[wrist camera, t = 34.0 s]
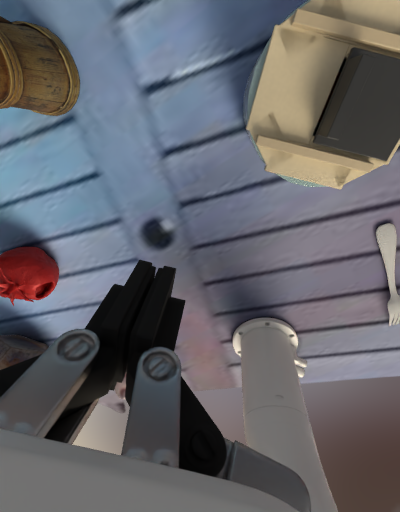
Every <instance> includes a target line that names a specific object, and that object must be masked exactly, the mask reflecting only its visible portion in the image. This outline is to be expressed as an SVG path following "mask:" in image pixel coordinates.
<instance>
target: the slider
mask: <svg viewBox="0 0 400 512" xmlns="http://www.w3.org/2000/svg"><path fill="white" fill-rule="evenodd" d="M399 139H400V59H398V58H394V57H390V56H387V55H383V54H379V53H375V52H371V51H367V50H363V49H360V48H356V47H353V48H351V50H350V53H349V55H348V57H347V60H346V62H345V65H344V67H343V70H342V72H341V74H340V77H339V79H338V82H337V84H336V86H335V89H334V91H333V94H332V96H331V98H330V101H329V103H328V106H327V108H326V110H325V113H324V115H323V118H322V120H321V123H320V125H319V127H318V130H317V132H316V135H315V137H314V139H313V143H315V144H319V145H323V146H327V147H331V148H335V149H339V150H343V151H347V152H351V153H355V154H359V155H363V156H367V157H371V158H375V159H379V160H383V161H387V160H388V158H389V156H390V155H391V153H392V151H393V149H394V148H395V146H396V144H397V143H398V141H399Z"/></svg>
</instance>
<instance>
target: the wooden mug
mask: <svg viewBox="0 0 400 512" xmlns="http://www.w3.org/2000/svg"><path fill="white" fill-rule="evenodd" d="M79 89H80V80H79V75H78V70H77V68H76V65H75V63H74V60H73V58H72V56H71V55H70V53H69V51H68V49H67V48H66V47H65V45H64V44H63V43H62V42H61V40H60V39H59V38H58V37H57V36H56V35H54V34H53V33H52V32H51V31H49V30H48V29H47V28H44V27H41V26H38V25H36V24H32V23H28V22H24V21H15V22H10V21H8V20H6V19H4V18H3V17H1V16H0V109H3V108H9V107H16V108H22V109H28V110H32V111H34V112H37V113H40V114H45V115H53V116H58V115H62V114H65V113H66V112H68V111H69V110H71V109H72V107H73V106H74V105H75V103H76V101H77V98H78V95H79Z"/></svg>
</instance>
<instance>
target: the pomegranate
mask: <svg viewBox="0 0 400 512" xmlns="http://www.w3.org/2000/svg"><path fill="white" fill-rule="evenodd" d="M58 278H59V268H58V266H57V263H56V262H55V260H54V259H52V258H51V257H49V256H48V255H47V254H46V253H45V252H44V251H43V250H42V249H40V248H38V247H18V248H15V249H12V250H9V251H6V252H4V253H2V254H1V255H0V296H2V297H5V298H6V297H8V298H10V300H11V303H12V304H13V301H14V299H25V300H26V301H32V302H34V301H33V300H40V299H43V298H45V297H47V296H48V295H49V294H50V293H51V292H52V291H53V290H54V288H55V287H56V285H57V282H58ZM30 299H33V300H30ZM13 306H14V304H13Z"/></svg>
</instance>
